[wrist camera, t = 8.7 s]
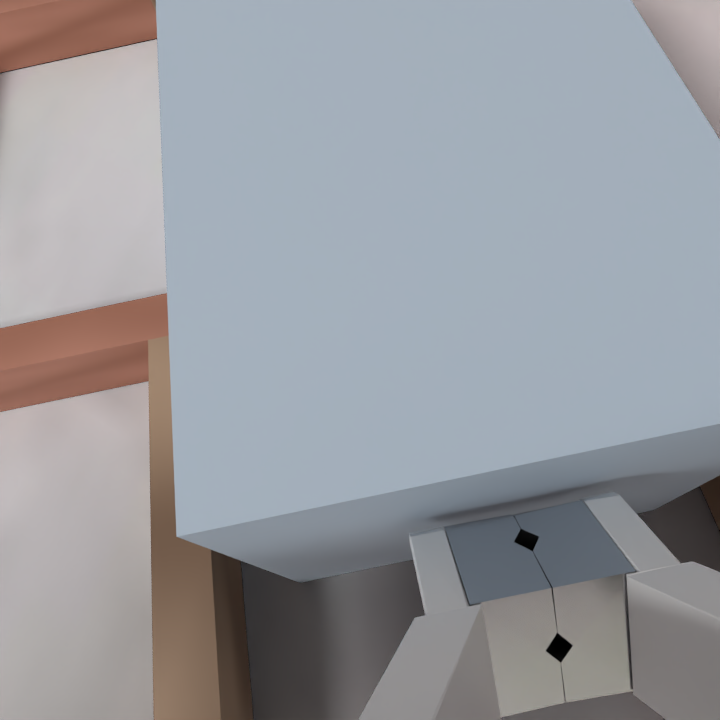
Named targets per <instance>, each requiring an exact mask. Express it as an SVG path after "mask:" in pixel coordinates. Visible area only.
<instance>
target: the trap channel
mask: <svg viewBox="0 0 720 720" xmlns="http://www.w3.org/2000/svg"><path fill="white" fill-rule="evenodd" d="M156 38H157V22H156V0H0V73H1V72H5V71H10V70H14V69H19V68H23V67H28V66H33V65H37V64H42V63H46V62H51V61H55V60H60V59H64V58H69V57H74V56H78V55H83V54H87V53H92V52H96V51H101V50H105V49H110V48H115V47H119V46H124V45H128V44H133V43H137V42H142V41H146V40H151V39H156ZM146 381H149V437H150V504H151V571H152V638H153V705H154V720H253V709H252V696H251V684H250V671H249V659H248V647H247V634H246V622H245V609H244V597H243V585H242V572H241V561H240V560H238V559H235V558H232V557H229V556H227V555H224V554H221V553H219V552H216V551H213V550H211V549H208V548H205V547H203V546H200V545H197V544H195V543H192V542H189V541H187V540H184V539H181V538H179V537H176V511H175V485H174V460H173V434H172V408H171V382H170V357H169V331H168V305H167V293H166V294H161V295H156V296H152V297H147V298H142V299H137V300H133V301H128V302H123V303H118V304H114V305H109V306H104V307H99V308H95V309H90V310H85V311H80V312H76V313H71V314H66V315H61V316H57V317H52V318H47V319H43V320H38V321H33V322H28V323H24V324H19V325H14V326H9V327H5V328H0V412H2V411H6V410H11V409H16V408H21V407H26V406H30V405H35V404H40V403H45V402H50V401H54V400H59V399H64V398H69V397H74V396H78V395H83V394H88V393H93V392H98V391H103V390H107V389H112V388H117V387H122V386H127V385H131V384H136V383H141V382H146ZM700 488H701V490H702V492H703V495H704V497H705V499H706V501H707V504H708V506H709V508H710V510H711V513H712V515H713V517H714V519H715V522H716V524H717V526H718V528H719V531H720V475H719V476H717V477H715V478H714V479H712V480H710V481H708V482H706V483H704V484H702V485H700Z"/></svg>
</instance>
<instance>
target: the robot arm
mask: <svg viewBox="0 0 720 720" xmlns="http://www.w3.org/2000/svg"><path fill="white" fill-rule="evenodd" d="M409 541H410V546H411V551H412V556H413V560H414V565H415V570H416V575H417V580H418V584H419V589H420V594H421V599H422V603H423V608H424V613H425V615H424V616H420V617H415V618H414V620H413V621H412V623H411V625H410V627H409V629H408V630H407V632H406V634H405V636H404V638H403V640H402V641H401V643H400V645H399V647H398V649H397V650H396V652H395V654H394V656H393V658H392V659H391V661H390V663H389V665H388V667H387V668H386V670H385V672H384V674H383V676H382V677H381V679H380V681H379V683H378V685H377V686H376V688H375V690H374V692H373V694H372V695H371V697H370V699H369V701H368V703H367V705H366V706H365V708H364V710H363V712H362V714H361V715H360V717H359V719H358V720H501V717H506V716H510V715H514V714H519V713H523V712H527V711H531V710H536V709H540V708H544V707H549V706H553V705H557V704H562V703H565V701H566V703H567V702H573V701H579V700H585V699H591V698H597V697H602V696H608V695H614V694H620V693H626V692H632V691H633V695H634V696H636V697H637V698H638V699H639V700H641V701H642V702H643V703H645V704H646V705H647V706H649V707H650V708H651V709H653V710H654V711H655V712H656V713H658V714H659V715H660V716H662V717H663V718H664V719H666V720H720V572H718V571H716V570H713V569H711V568H708V567H706V566H703V565H701V564H698V563H696V562H693V561H691V562H686V563H681V562H680V561H679V560H678V559H677V558H676V557H675V556H674V555H673V553H672V552H671V551H670V550H669V549H668V548H667V547H666V546H665V545H664V543H663V542H662V541H661V540H660V539H659V538H658V537H657V536H656V535H655V533H654V532H653V531H652V530H651V529H650V528H649V527H648V526H647V525H646V523H645V522H644V521H643V520H642V519H641V518H640V517H639V516H638V515H637V513H636V512H635V511H634V510H633V509H632V508H631V507H630V506H629V505H628V503H627V502H626V501H625V500H624V499H623V498H622V497H621V496H620V495H619V494H618V493H615V492H613V491H612V492H608V493H604V494H599V495H595V496H591V497H587V498H582V499H579V500H578V501H574V502H570V503H565V504H560V505H556V506H551V507H546V508H541V509H537V510H532V511H527V512H523V513H518V514H513V515H511V514H510V515H504V516H499V517H493V518H488V519H482V520H477V521H471V522H466V523H460V524H455V525H449V526H444V529H443V528H442V527H439V528H434V529H429V530H424V531H419V532H414V533H409ZM564 699H565V700H564Z"/></svg>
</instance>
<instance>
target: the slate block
mask: <svg viewBox="0 0 720 720" xmlns="http://www.w3.org/2000/svg"><path fill="white" fill-rule="evenodd" d="M156 22H157V47H158V73H159V99H160V125H161V150H162V176H163V202H164V228H165V253H166V279H167V305H168V331H169V357H170V382H171V408H172V434H173V460H174V485H175V511H176V537H179V538H181V539H184V540H187V541H189V542H192V543H195V544H197V545H200V546H203V547H205V548H208V549H211V550H213V551H216V552H219V553H221V554H224V555H227V556H229V557H232V558H235V559H238V560H240V561H243V562H246V563H248V564H251V565H254V566H256V567H259V568H262V569H264V570H267V571H270V572H272V573H275V574H278V575H280V576H283V577H286V578H288V579H291V580H294V581H296V582H299V583H302V582H307V581H311V580H316V579H321V578H326V577H331V576H336V575H341V574H345V573H350V572H355V571H360V570H365V569H370V568H375V567H379V566H384V565H389V564H394V563H399V562H404V561H409V560H413V556H412V551H411V546H410V541H409V533H414V532H419V531H424V530H429V529H434V528H439V527H442V528H443V529H444V526H449V525H455V524H460V523H466V522H471V521H477V520H482V519H488V518H493V517H499V516H504V515H510V514H511V515H513V514H518V513H523V512H527V511H532V510H537V509H541V508H546V507H551V506H556V505H560V504H565V503H570V502H574V501H578V500H579V499H582V498H587V497H591V496H595V495H599V494H604V493H608V492H612V491H613V492H615V493H618V494H619V495H620V496H621V497H622V498H623V499H624V500H625V501H626V502H627V503H628V505H629V506H630V507H631V508H632V509H633V510H634V511H635V512H636V513H642V512H647V511H651V510H655V509H657V508H659V507H661V506H663V505H665V504H666V503H668V502H670V501H672V500H674V499H676V498H678V497H680V496H682V495H683V494H685V493H687V492H689V491H691V490H693V489H695V488H697V487H698V486H700V485H702V484H704V483H706V482H708V481H710V480H712V479H714V478H715V477H717V476H719V475H720V139H719V138H718V136H717V134H716V133H715V131H714V130H713V128H712V127H711V125H710V123H709V122H708V120H707V119H706V117H705V116H704V114H703V112H702V111H701V109H700V108H699V106H698V105H697V103H696V101H695V100H694V98H693V97H692V95H691V94H690V92H689V90H688V89H687V87H686V86H685V84H684V83H683V81H682V79H681V78H680V76H679V75H678V73H677V72H676V70H675V68H674V67H673V65H672V64H671V62H670V61H669V59H668V57H667V56H666V54H665V53H664V51H663V50H662V48H661V47H660V45H659V43H658V42H657V40H656V39H655V37H654V36H653V34H652V32H651V31H650V29H649V28H648V26H647V25H646V23H645V21H644V20H643V18H642V17H641V15H640V14H639V12H638V10H637V9H636V7H635V6H634V4H633V3H632V1H631V0H156Z"/></svg>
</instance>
